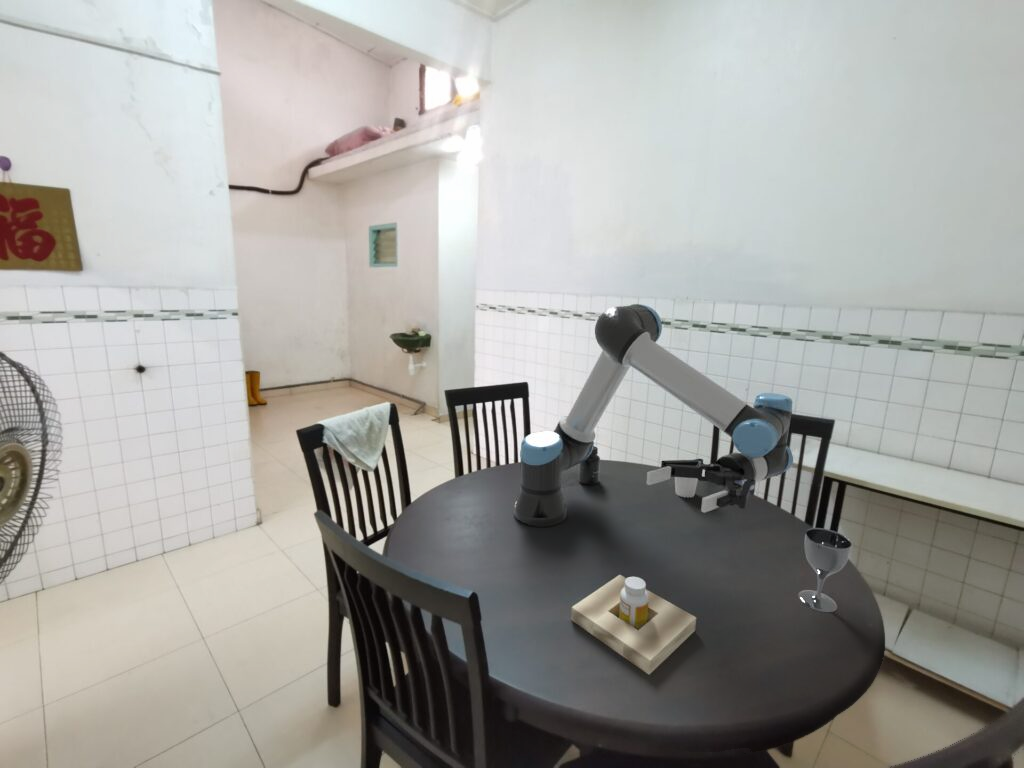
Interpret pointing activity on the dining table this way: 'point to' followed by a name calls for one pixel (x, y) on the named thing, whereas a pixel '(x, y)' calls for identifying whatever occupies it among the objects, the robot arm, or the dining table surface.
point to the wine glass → (824, 564)
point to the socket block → (635, 645)
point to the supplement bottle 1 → (590, 469)
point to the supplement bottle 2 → (634, 602)
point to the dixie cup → (685, 486)
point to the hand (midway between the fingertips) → (673, 491)
